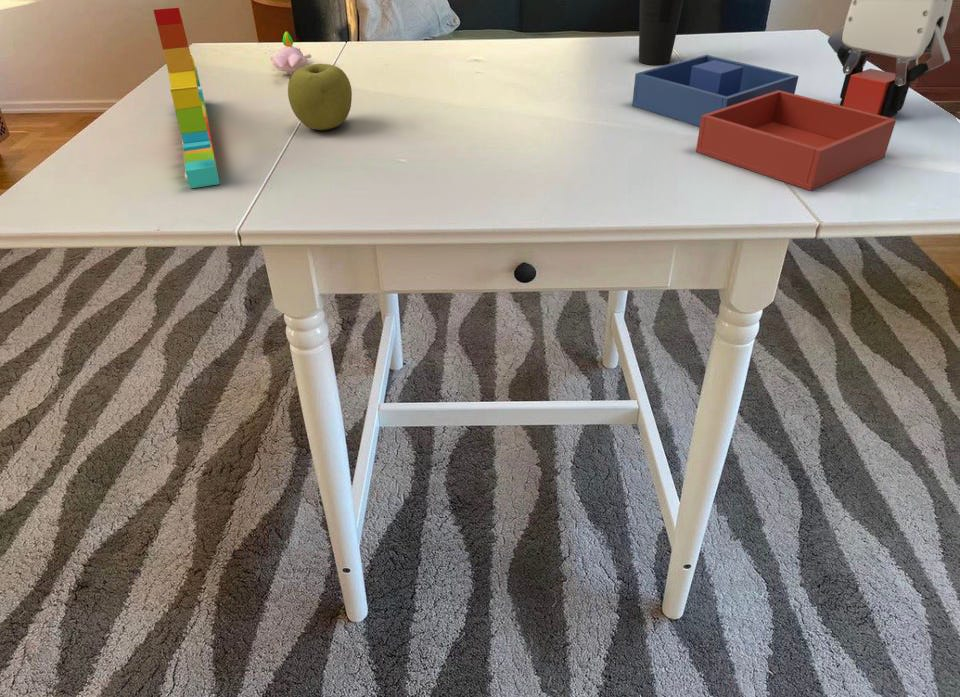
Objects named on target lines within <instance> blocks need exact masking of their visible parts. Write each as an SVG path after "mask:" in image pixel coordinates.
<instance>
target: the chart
mask: <svg viewBox="0 0 960 697" xmlns="http://www.w3.org/2000/svg"><path fill="white" fill-rule="evenodd" d="M153 14H154V18H155V23H156V27H157V31H158V35H159V39H160V43H161V47H162V51H163V55H164V56H163V57H164V60H165V64H166V68H167V72H168V78H169V82H170V83H169V84H170V93H171V99H172V102H173V106H174V110H175V111H174V112H175V115H176V120H177V123H178V128H179V131H180V136H181V145H182V147H181V148H182V154H183V155H182V159H183V162H184V163H183V168H184V170H183V172H184V179H185V182H187V183H188V185H189V188H190V189H196V188H202V187H210V186H216V185H217V186H218V185H221V183H220V178H219V177H220V176H219V173H218V167H217V162H216V156H215V151H214V144H213V139H212V135H211V129H210V124H209V118H208V112H207V107H206V101H205V97H204V93H203V90H202V88H200V87H201V82H200V78H199V73H198V69H197V68H198V67H197V66H196V64H195V60H194V56H193V55H192V54H191V50H190V47H189V42H188V39H187V35H186V31H185V26H184V23H183V18H182V15H181V9H180V8H179V7H170V8H158V9H157V8H156V9H153Z"/></svg>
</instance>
